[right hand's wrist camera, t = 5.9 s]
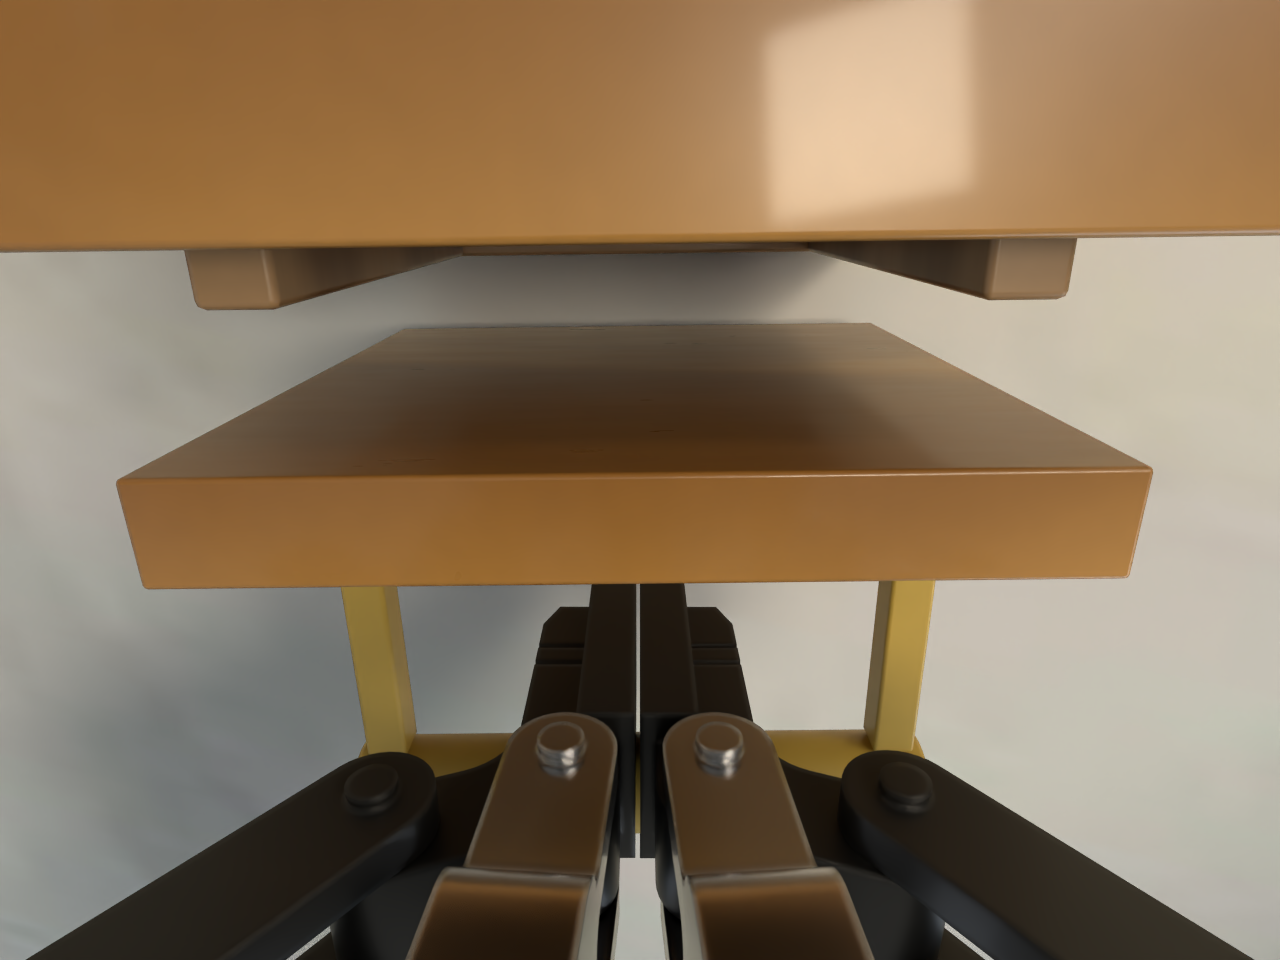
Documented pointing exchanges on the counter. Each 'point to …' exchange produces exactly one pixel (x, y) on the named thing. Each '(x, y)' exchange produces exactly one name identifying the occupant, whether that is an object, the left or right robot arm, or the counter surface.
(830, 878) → the right robot arm
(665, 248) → the drawer
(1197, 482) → the counter surface
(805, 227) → the cabinet
